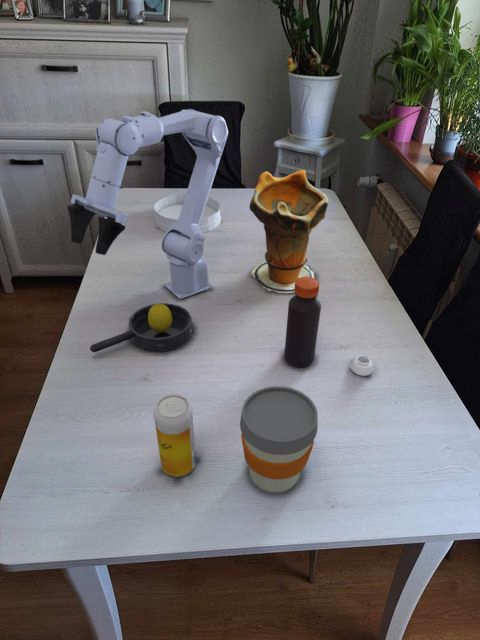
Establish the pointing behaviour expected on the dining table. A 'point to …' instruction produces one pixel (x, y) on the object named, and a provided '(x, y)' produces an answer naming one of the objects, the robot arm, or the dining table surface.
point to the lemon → (160, 318)
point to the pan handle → (111, 341)
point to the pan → (167, 339)
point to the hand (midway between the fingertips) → (88, 248)
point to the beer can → (175, 435)
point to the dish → (171, 209)
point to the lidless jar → (362, 365)
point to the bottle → (302, 323)
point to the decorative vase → (286, 227)
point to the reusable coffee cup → (277, 436)
